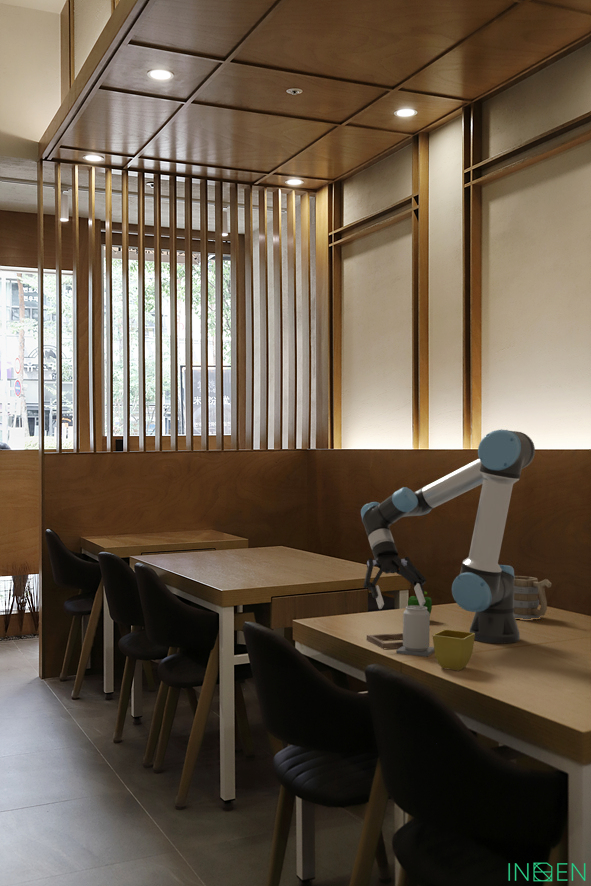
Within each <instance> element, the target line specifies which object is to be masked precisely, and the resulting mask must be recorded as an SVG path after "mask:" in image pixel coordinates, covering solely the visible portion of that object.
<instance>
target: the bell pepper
mask: <svg viewBox="0 0 591 886" xmlns="http://www.w3.org/2000/svg"><path fill="white" fill-rule="evenodd" d="M427 594H428V592H427V591H424V594H423V595H427ZM424 599H425V601H426V602H425V604H424V605H423V606H424V607H427V608H428V609H427V611H428V612H429V613H430V615H431V613H432V609H433V600H432V597H429V596H424ZM413 605H414V606H420V604H419V602H418V599H417V596H415V595H411V596H410V597H409V598H408V600H407V606H413Z"/></svg>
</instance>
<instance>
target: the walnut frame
mask: <svg viewBox="0 0 591 886" xmlns="http://www.w3.org/2000/svg"><path fill="white" fill-rule="evenodd" d="M386 639H392V640H403V632H400V633H396V632H395V633H382V634H380V633H379V634H366V641H368V642H370V643H371V644H373V645H375V646H377V647H379V648H380V649H382V648H383V649H384V648H387V649H399V648H400V647H402V646H403V641H389V642H387V640H386ZM385 641H386V642H385ZM383 649H382V650H383Z"/></svg>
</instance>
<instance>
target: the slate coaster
mask: <svg viewBox="0 0 591 886" xmlns="http://www.w3.org/2000/svg"><path fill="white" fill-rule="evenodd" d="M395 653H396V654H401V655H408V656H409V655H410V656H416V657H417V656H418V657H429V656H430V655H431V654H433V653H435V652H434V646H429V647H428V648H427V649H426V650H424V651H411V650H407V649H406V648H405V647H404V646H402V647H400V648H397V649H396V650H395Z"/></svg>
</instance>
